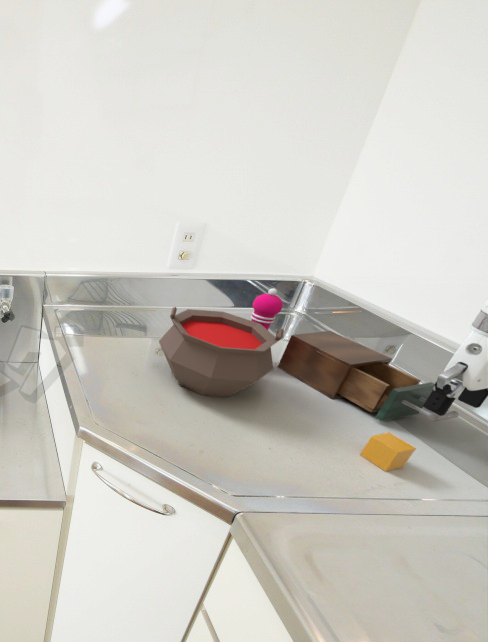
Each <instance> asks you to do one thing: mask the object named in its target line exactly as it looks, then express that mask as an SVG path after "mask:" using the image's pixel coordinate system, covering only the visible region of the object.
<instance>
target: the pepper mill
mask: <svg viewBox="0 0 488 642" xmlns="http://www.w3.org/2000/svg"><path fill="white" fill-rule="evenodd" d="M277 294H278V290H277V289H276V288H274V287H273V288H269V290H268V291H267V293H262V294H260V295H258V296H256V298H255V299H254V300H253V302H252V308H253V311H251V315H250V321H253V322H256V323H259V324H261V325H262V326H264V327H265V328H266V329H267V330H268V331H269V328H270V326H271V325H272V324H273V323H274V322H275V319H276V315H278V314H279V313H281V312H282V309H283V306H284V303H283V300H282V299H281V297H280V296H278V295H277Z"/></svg>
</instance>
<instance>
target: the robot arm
mask: <svg viewBox="0 0 488 642" xmlns="http://www.w3.org/2000/svg"><path fill="white" fill-rule="evenodd" d="M469 327H470V330H471V332H470V333H469V334H468V335H467V337H466V338H465V339H464V341H463V342H462V343H461V344H460V346H459V347H458V349H457V350H456V351H455V352H454V354H453V355H452V356H451V358H450V360H449V361H448V363H447V364H446V365H445V368H444V369H443V371H442V372H441V373H440V374H439V375H438V376H437V379H436V381H435V382H434V384H435V386H434V387H433V389H432V390H433V391H432V392H431V394H430V395H429V397H428V399H427V400H426V402H425V403H424V405H423V409H426V410H428V411H430V412H432V413H433V414H435V413H436V414H438V415H440V416H443V415H445V414H446V412H447V411H448V410H449V409H450V408H451V407H452V405H453V403H454V402H455V401H456V399H457V400H458V401H460V402H462V403H464V404H465V405H468V406H470V407H473V408H475V409H478V408H480V407H482V405H483V404H484V402H485V401H486V400H487V398H488V298H487V300H486V301H485V303H484V304H483V306H482V307H481V309H479V312H478V313H477V315H476V316H475V318H474V320H473V322H472V323H471V325H470V326H469ZM452 385H453V386H454V387H453V388H452ZM460 392H461V393H460ZM458 394H459V395H458ZM456 395H458V397H457V398H456V397H455V396H456Z"/></svg>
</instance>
